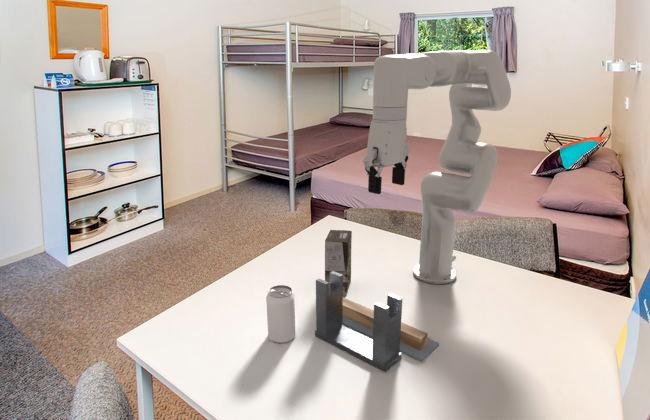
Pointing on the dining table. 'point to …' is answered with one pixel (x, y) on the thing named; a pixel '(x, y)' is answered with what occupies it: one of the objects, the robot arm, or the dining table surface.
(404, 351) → the mat
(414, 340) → the rail
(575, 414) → the dining table surface
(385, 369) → the rail rack
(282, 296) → the can
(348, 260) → the coffee box
